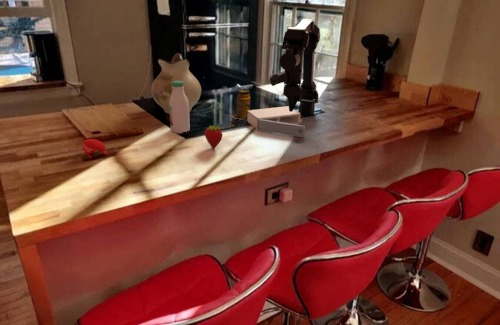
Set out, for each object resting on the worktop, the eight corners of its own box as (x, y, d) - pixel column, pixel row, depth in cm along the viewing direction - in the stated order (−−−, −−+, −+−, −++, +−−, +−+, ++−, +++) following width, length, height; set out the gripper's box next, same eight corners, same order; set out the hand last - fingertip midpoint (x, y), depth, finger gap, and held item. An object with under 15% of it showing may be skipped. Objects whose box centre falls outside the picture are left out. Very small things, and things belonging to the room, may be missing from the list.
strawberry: (215, 143, 142) (215, 117, 137) (226, 149, 136) (226, 123, 132) (201, 146, 138) (200, 120, 134) (212, 153, 133) (211, 126, 129)
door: (304, 136, 149) (305, 125, 147) (302, 138, 147) (303, 127, 145) (257, 129, 155) (258, 118, 153) (256, 130, 154) (256, 120, 152)
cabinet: (287, 116, 172) (288, 106, 170) (299, 124, 163) (300, 113, 161) (247, 121, 165) (247, 110, 163) (257, 129, 156) (258, 118, 153)
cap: (79, 152, 123) (94, 142, 123) (78, 140, 127) (93, 131, 127) (96, 165, 129) (110, 155, 129) (94, 153, 133) (108, 144, 133)
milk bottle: (193, 128, 155) (191, 80, 147) (184, 134, 148) (181, 84, 140) (176, 126, 157) (173, 78, 149) (167, 132, 151) (163, 82, 142)
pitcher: (168, 121, 162) (165, 62, 152) (143, 108, 178) (138, 54, 168) (211, 112, 176) (210, 57, 165) (183, 101, 192) (181, 50, 181)
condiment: (253, 117, 170) (254, 91, 165) (237, 120, 166) (237, 94, 160) (244, 113, 175) (245, 87, 170) (229, 116, 171) (229, 90, 166)
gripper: (272, 59, 142) (270, 100, 149) (269, 69, 125) (267, 114, 132) (302, 61, 141) (298, 101, 148) (303, 70, 124) (299, 116, 131)
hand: (290, 108), depth 140 cm, fingers open, 8 cm apart
